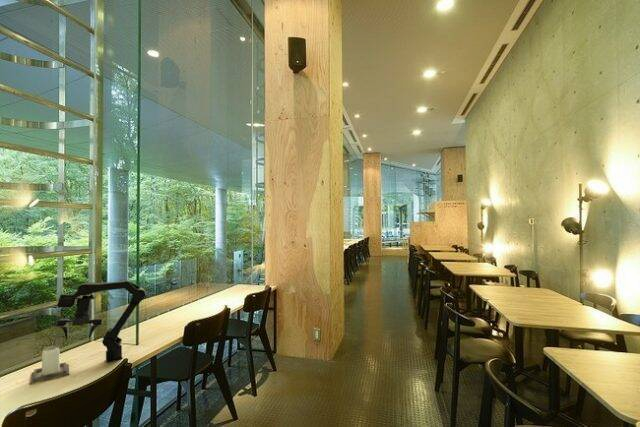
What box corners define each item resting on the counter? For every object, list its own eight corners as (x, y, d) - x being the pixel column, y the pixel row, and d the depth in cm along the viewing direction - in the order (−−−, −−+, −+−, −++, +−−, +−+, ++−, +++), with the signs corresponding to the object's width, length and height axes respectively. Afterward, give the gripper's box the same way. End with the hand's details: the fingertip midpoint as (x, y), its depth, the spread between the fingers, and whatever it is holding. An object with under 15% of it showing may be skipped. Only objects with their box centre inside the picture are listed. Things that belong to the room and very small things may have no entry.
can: (58, 368, 159) (58, 344, 159) (60, 372, 154) (61, 347, 155) (40, 373, 154) (40, 348, 154) (43, 377, 149) (43, 351, 150)
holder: (68, 364, 164) (68, 361, 164) (69, 374, 153) (69, 370, 153) (31, 373, 155) (31, 369, 155) (29, 384, 144) (29, 380, 144)
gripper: (55, 310, 154) (50, 345, 152) (102, 310, 162) (97, 342, 160) (62, 307, 164) (57, 339, 162) (105, 306, 172) (101, 337, 170)
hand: (78, 339), depth 163 cm, fingers open, 9 cm apart
